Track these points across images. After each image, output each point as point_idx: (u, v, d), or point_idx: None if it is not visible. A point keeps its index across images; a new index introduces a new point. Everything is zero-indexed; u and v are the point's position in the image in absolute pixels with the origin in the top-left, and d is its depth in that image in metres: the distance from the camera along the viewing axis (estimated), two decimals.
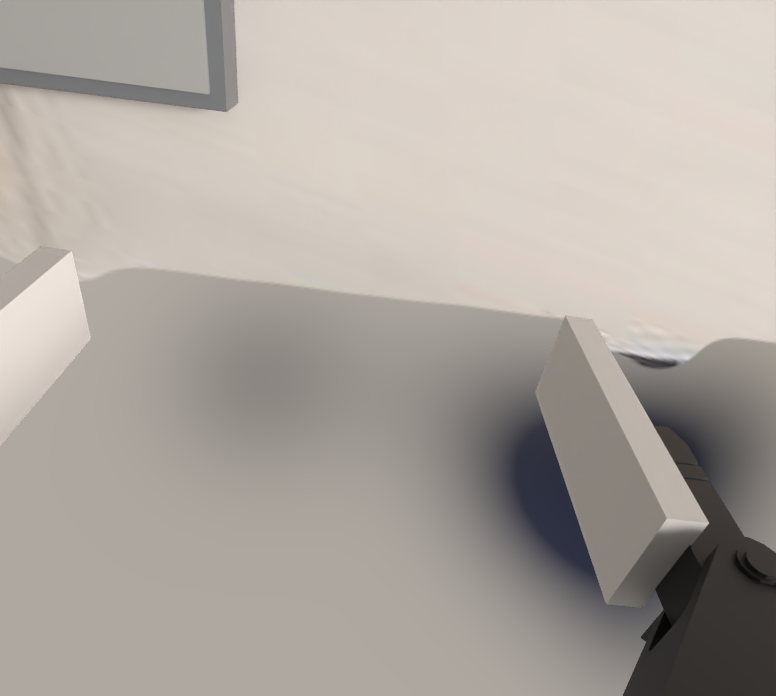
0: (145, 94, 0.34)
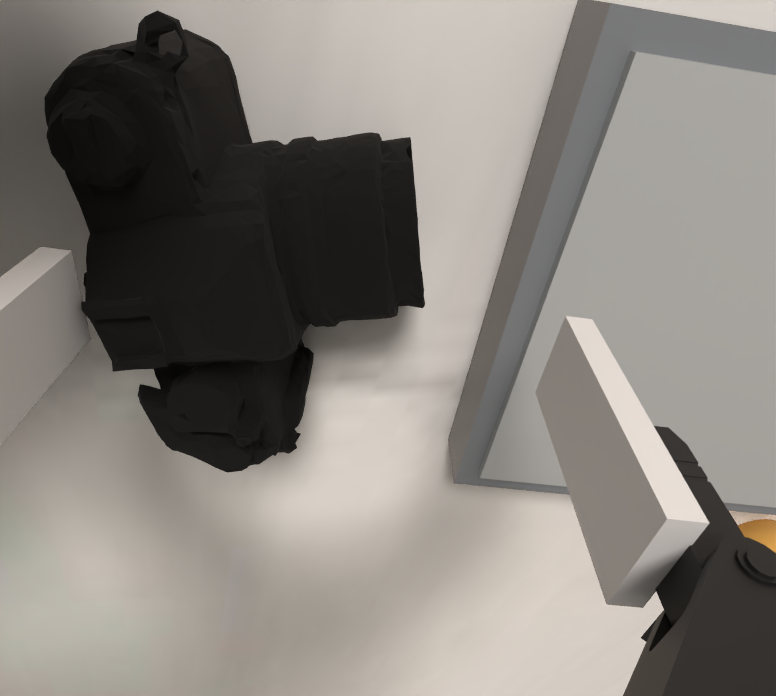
0: None
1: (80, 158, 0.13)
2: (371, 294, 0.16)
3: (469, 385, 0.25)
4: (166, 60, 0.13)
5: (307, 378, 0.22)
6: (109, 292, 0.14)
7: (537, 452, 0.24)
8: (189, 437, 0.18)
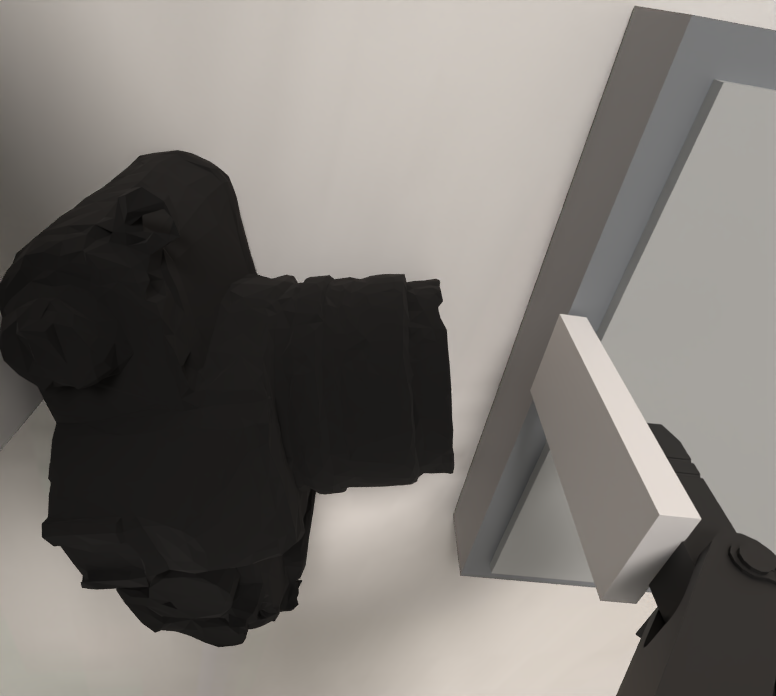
0: None
1: (40, 366, 0.10)
2: (393, 475, 0.14)
3: (479, 462, 0.21)
4: (152, 243, 0.10)
5: (310, 513, 0.20)
6: (77, 506, 0.11)
7: (561, 547, 0.20)
8: (174, 619, 0.15)
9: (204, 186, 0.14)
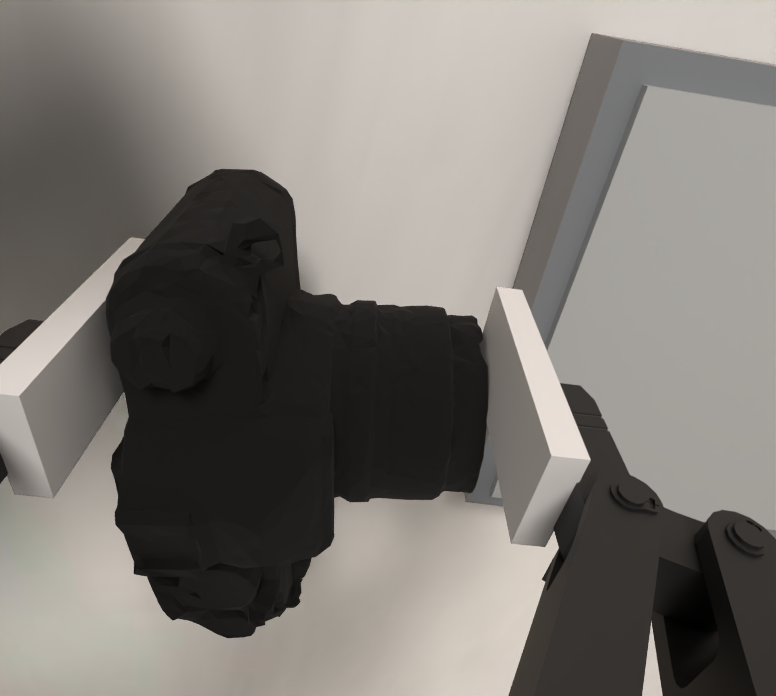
0: None
1: (145, 369, 0.11)
2: (422, 491, 0.15)
3: None
4: (259, 268, 0.11)
5: None
6: (148, 498, 0.12)
7: None
8: (193, 609, 0.16)
9: (278, 208, 0.15)
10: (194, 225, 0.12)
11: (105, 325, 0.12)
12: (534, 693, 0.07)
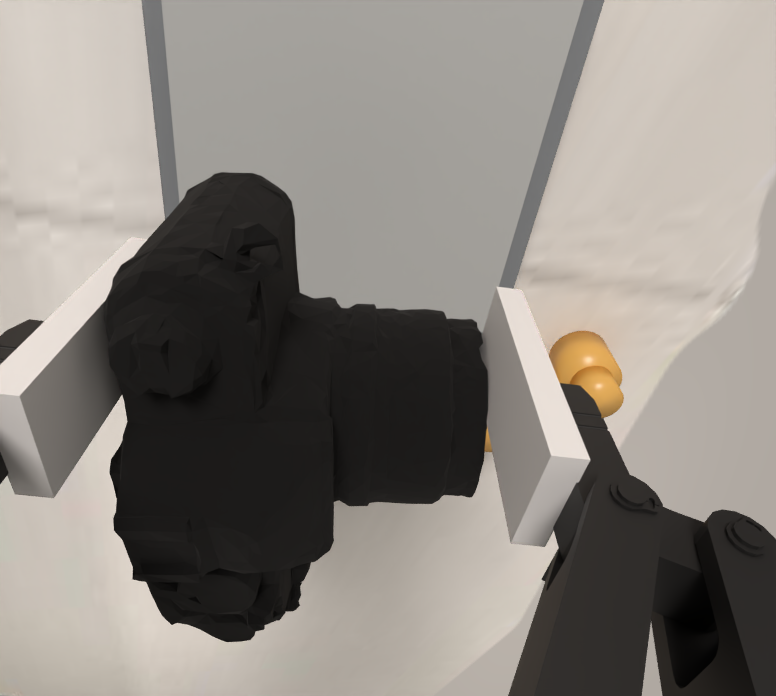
0: (567, 87, 0.25)
1: (143, 374, 0.11)
2: (422, 495, 0.15)
3: None
4: (258, 273, 0.11)
5: None
6: (146, 504, 0.12)
7: None
8: (192, 613, 0.16)
9: (277, 212, 0.15)
10: (193, 229, 0.12)
11: None
12: (534, 693, 0.07)
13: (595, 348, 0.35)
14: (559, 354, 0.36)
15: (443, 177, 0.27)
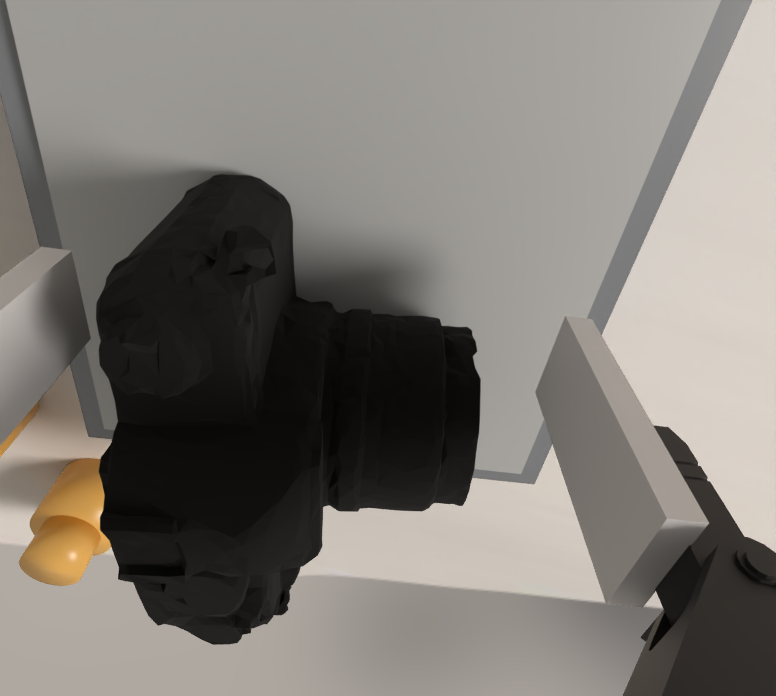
0: None
1: (133, 374, 0.11)
2: (412, 503, 0.15)
3: None
4: (251, 276, 0.11)
5: None
6: (133, 504, 0.12)
7: None
8: (179, 615, 0.16)
9: (274, 215, 0.15)
10: (188, 231, 0.12)
11: None
12: None
13: None
14: (96, 479, 0.27)
15: None
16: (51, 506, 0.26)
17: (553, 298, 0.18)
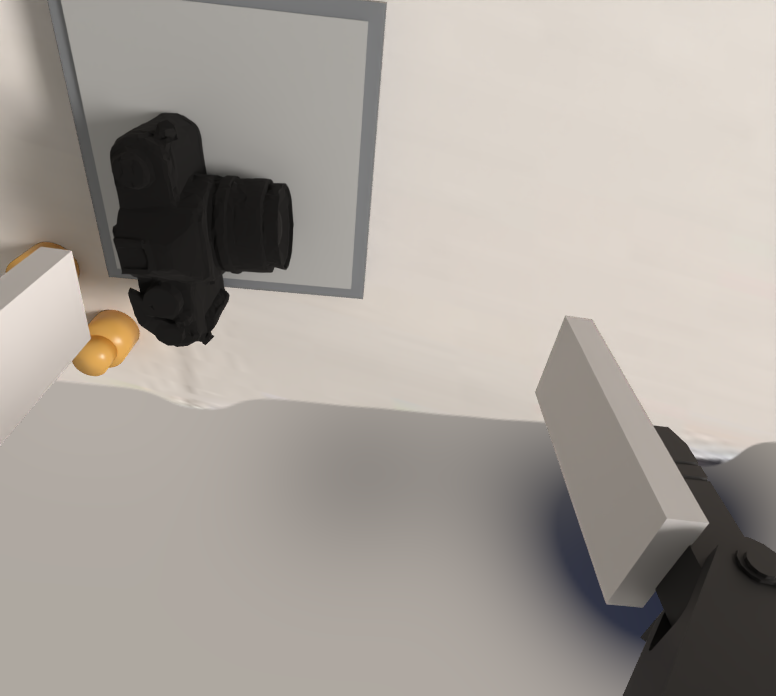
0: (298, 288, 0.42)
1: (124, 175, 0.29)
2: (254, 257, 0.33)
3: None
4: (167, 139, 0.29)
5: (222, 306, 0.39)
6: (126, 236, 0.30)
7: (102, 33, 0.32)
8: (151, 320, 0.34)
9: (187, 128, 0.33)
10: (145, 127, 0.30)
11: None
12: None
13: (129, 342, 0.46)
14: (113, 319, 0.46)
15: None
16: None
17: (337, 174, 0.36)
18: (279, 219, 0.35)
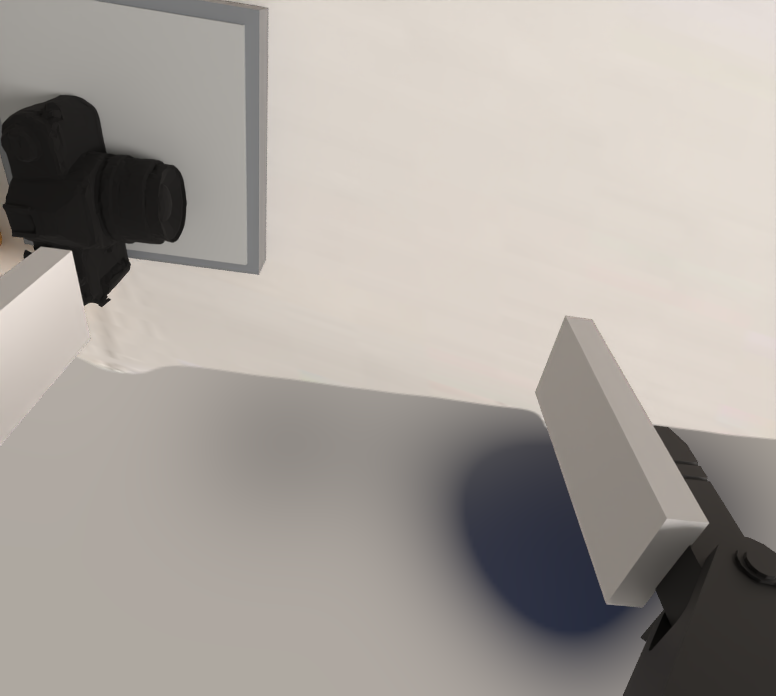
0: (199, 262, 0.46)
1: (12, 149, 0.33)
2: (138, 228, 0.37)
3: None
4: (54, 119, 0.33)
5: (121, 273, 0.43)
6: (16, 202, 0.34)
7: (6, 23, 0.36)
8: None
9: (82, 110, 0.37)
10: (36, 107, 0.34)
11: None
12: None
13: None
14: None
15: None
16: None
17: (226, 160, 0.41)
18: (166, 196, 0.39)
